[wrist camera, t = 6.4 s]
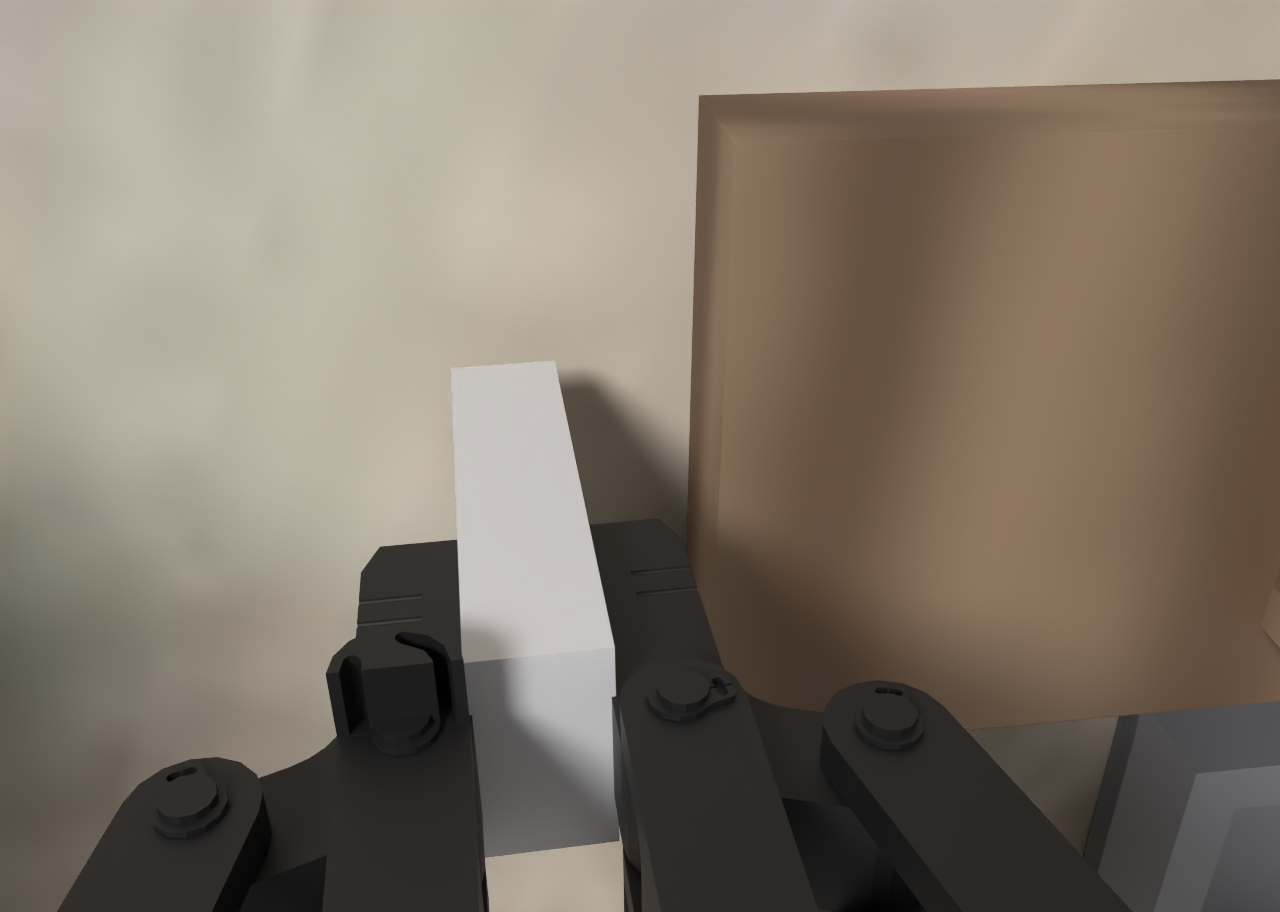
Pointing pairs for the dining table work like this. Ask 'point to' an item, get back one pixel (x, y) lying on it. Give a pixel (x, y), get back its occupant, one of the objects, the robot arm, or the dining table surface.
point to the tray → (1192, 811)
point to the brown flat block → (991, 396)
